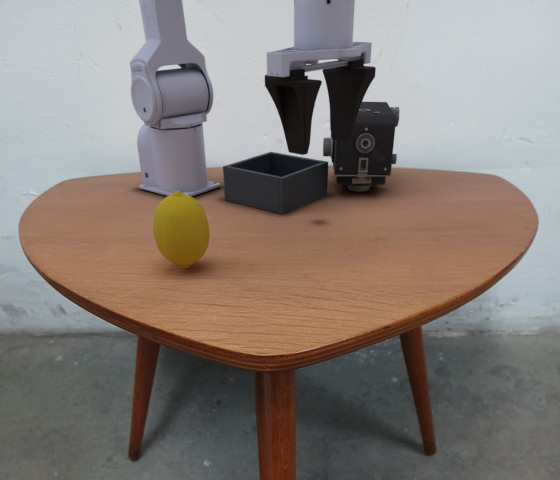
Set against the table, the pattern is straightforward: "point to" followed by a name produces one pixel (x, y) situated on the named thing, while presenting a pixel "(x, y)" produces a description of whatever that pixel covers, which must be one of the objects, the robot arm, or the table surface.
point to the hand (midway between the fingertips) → (320, 146)
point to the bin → (275, 181)
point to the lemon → (181, 229)
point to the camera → (365, 148)
